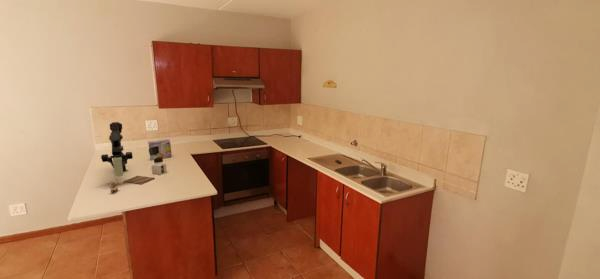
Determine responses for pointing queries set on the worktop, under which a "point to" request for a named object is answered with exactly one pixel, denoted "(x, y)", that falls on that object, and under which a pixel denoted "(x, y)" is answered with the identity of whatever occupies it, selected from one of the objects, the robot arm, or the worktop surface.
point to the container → (158, 166)
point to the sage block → (118, 166)
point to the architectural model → (113, 186)
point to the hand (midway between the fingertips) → (118, 167)
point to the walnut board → (139, 180)
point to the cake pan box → (160, 148)
